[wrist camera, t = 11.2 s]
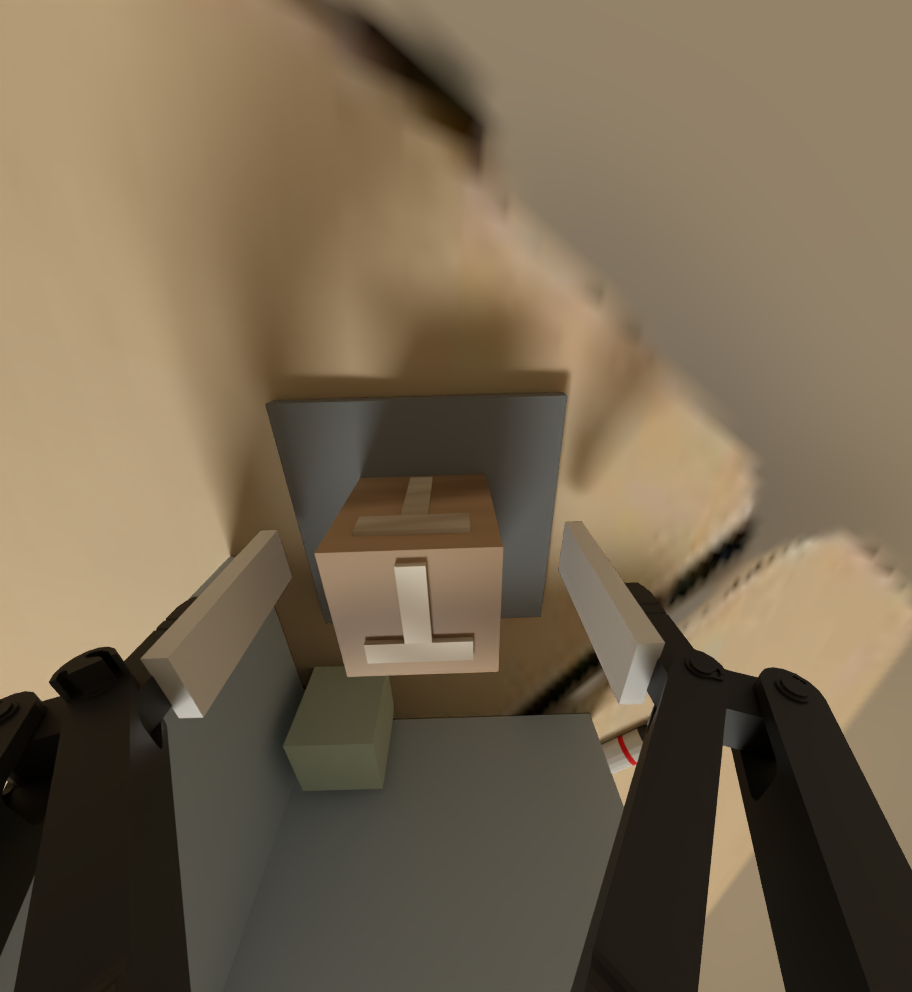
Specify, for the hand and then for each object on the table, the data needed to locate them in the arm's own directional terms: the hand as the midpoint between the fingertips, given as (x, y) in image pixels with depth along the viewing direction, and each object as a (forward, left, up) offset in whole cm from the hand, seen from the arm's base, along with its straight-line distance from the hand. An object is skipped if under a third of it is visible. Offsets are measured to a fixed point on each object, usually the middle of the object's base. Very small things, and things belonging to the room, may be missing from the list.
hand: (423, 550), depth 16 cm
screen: (+10, -1, -3) cm, 10 cm away
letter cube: (0, 0, -2) cm, 2 cm away
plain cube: (+14, -6, -3) cm, 15 cm away
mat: (0, 0, -3) cm, 3 cm away
